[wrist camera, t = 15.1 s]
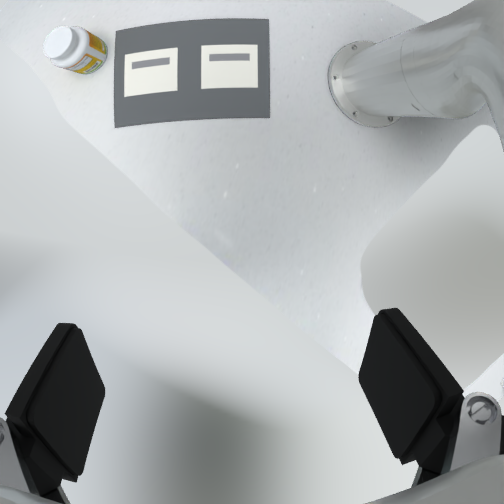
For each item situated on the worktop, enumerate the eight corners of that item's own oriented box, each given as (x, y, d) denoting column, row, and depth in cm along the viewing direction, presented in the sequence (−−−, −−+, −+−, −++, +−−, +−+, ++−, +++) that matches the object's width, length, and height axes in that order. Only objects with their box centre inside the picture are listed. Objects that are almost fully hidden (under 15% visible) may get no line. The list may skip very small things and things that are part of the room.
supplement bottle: (82, 36, 28) (49, 18, 19) (114, 41, 29) (85, 21, 20) (68, 71, 30) (31, 62, 21) (99, 77, 31) (65, 66, 22)
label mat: (268, 19, 30) (268, 19, 30) (269, 117, 36) (269, 117, 36) (116, 31, 29) (115, 30, 28) (115, 127, 34) (114, 127, 34)
